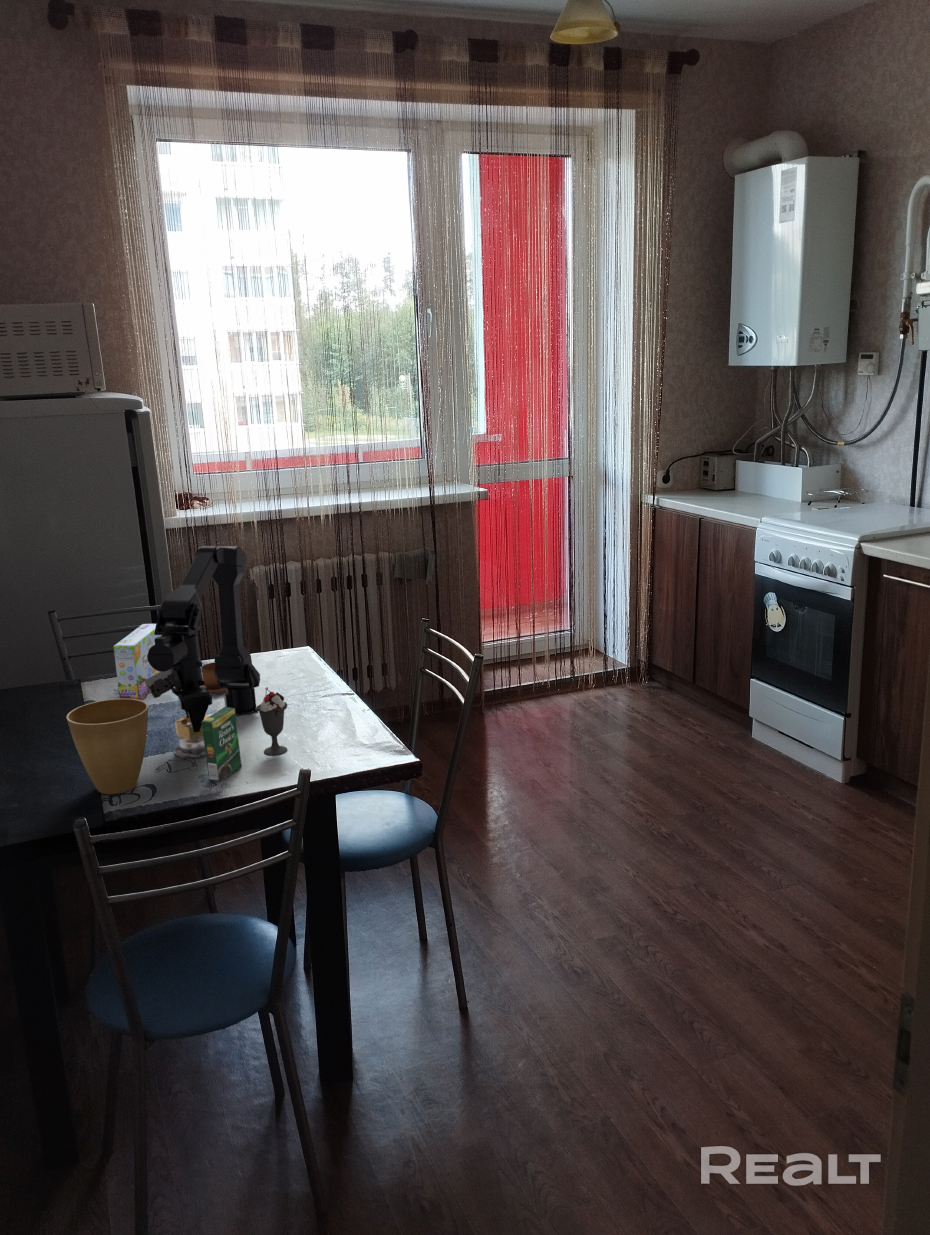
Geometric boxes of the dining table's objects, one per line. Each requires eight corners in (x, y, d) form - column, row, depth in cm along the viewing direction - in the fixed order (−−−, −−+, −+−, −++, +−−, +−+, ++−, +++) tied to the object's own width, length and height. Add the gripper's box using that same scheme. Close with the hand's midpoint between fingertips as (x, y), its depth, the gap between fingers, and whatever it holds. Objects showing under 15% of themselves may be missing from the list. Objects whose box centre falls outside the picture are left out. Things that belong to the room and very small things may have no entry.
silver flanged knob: (214, 739, 212) (210, 711, 210) (221, 753, 204) (218, 724, 202) (172, 747, 208) (168, 719, 207) (178, 761, 200) (174, 732, 199)
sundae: (265, 759, 200) (258, 691, 196) (256, 749, 206) (249, 682, 202) (295, 753, 203) (289, 685, 199) (286, 742, 208) (279, 677, 205)
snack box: (141, 703, 237) (133, 645, 233) (119, 704, 237) (111, 645, 233) (168, 676, 258) (161, 622, 254) (147, 676, 258) (140, 622, 254)
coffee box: (219, 783, 189) (212, 721, 186) (207, 782, 190) (200, 719, 187) (242, 767, 196) (236, 707, 193) (231, 766, 197) (224, 706, 194)
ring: (207, 723, 209) (206, 712, 209) (213, 734, 203) (212, 722, 203) (174, 729, 207) (173, 718, 206) (179, 740, 201) (178, 729, 200)
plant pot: (147, 800, 183) (137, 721, 179) (68, 805, 182) (55, 726, 178) (165, 768, 197) (155, 695, 193) (91, 773, 196) (80, 699, 192)
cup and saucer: (205, 681, 253) (203, 658, 251) (249, 681, 251) (246, 659, 249) (186, 696, 241) (183, 673, 239) (232, 697, 239) (229, 673, 238)
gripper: (140, 651, 206) (149, 719, 210) (151, 675, 189) (160, 748, 193) (193, 643, 210) (201, 710, 214) (208, 665, 194) (216, 738, 198)
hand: (193, 726), depth 205 cm, fingers closed on ring, 7 cm apart
